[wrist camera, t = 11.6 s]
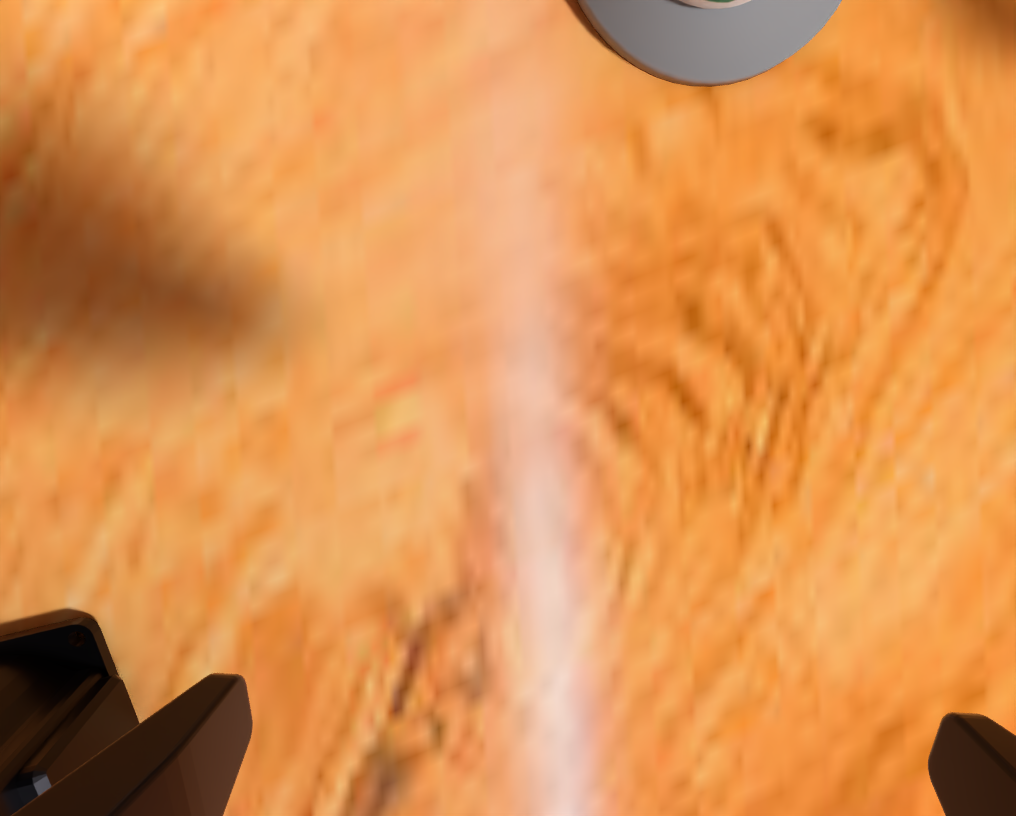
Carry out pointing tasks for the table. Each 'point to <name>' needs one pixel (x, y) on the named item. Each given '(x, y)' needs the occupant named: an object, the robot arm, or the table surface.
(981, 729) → the robot arm
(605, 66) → the table surface
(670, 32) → the mat
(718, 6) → the supplement bottle
